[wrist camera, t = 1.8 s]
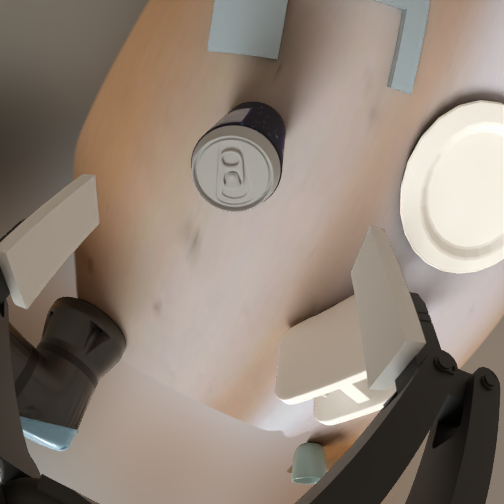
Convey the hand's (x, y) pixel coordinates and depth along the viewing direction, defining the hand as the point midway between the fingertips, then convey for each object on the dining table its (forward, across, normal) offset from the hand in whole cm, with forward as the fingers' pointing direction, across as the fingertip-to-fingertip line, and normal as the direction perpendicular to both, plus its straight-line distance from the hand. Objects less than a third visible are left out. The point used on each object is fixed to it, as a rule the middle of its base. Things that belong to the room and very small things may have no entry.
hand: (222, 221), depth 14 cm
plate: (+18, +24, 0) cm, 30 cm away
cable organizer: (+17, +16, -23) cm, 32 cm away
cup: (+17, +24, -66) cm, 73 cm away
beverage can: (+17, 0, 0) cm, 17 cm away
